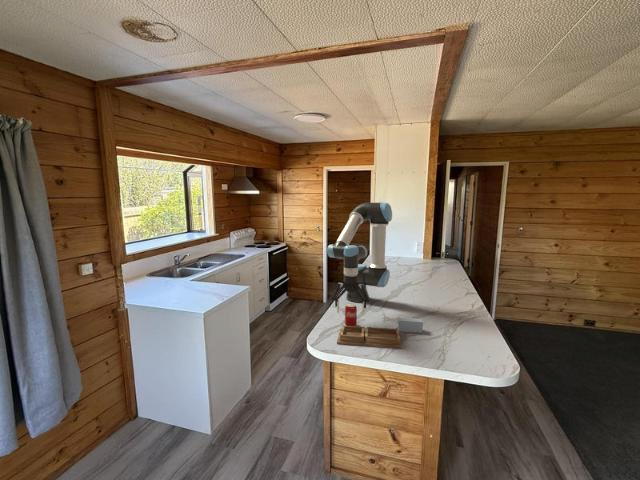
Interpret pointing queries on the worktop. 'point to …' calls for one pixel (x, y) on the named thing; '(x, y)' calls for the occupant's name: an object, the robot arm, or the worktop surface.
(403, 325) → the bar
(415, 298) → the worktop surface
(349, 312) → the beverage can
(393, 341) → the tray
